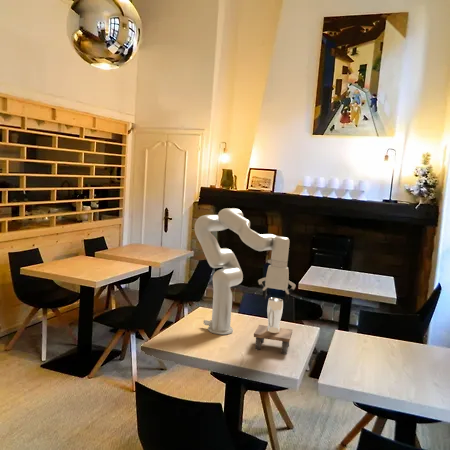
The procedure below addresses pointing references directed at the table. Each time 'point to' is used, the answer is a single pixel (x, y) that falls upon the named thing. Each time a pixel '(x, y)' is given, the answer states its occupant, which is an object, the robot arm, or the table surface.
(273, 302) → the beer glass
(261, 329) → the peg shelf
